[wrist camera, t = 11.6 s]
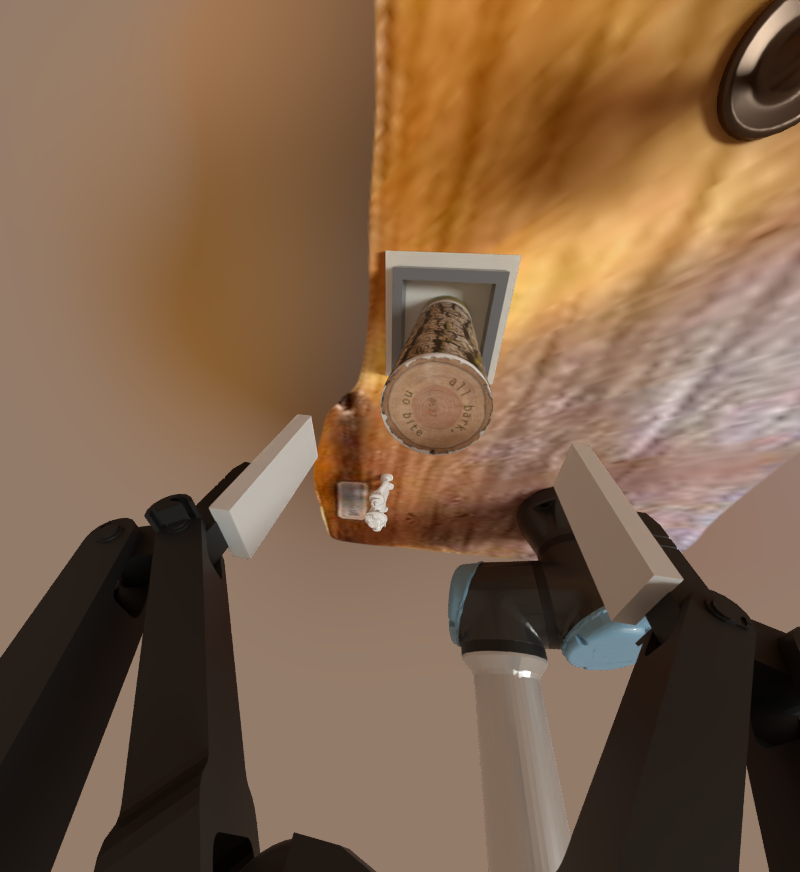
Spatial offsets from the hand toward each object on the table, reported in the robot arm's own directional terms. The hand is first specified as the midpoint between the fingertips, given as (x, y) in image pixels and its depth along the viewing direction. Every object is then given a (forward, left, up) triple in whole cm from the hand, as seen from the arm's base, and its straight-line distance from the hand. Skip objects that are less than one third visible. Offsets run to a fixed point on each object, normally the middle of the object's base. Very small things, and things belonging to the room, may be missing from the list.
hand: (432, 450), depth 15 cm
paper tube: (0, 0, -29) cm, 29 cm away
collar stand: (0, 0, -29) cm, 29 cm away
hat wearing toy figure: (-31, +8, -30) cm, 43 cm away
